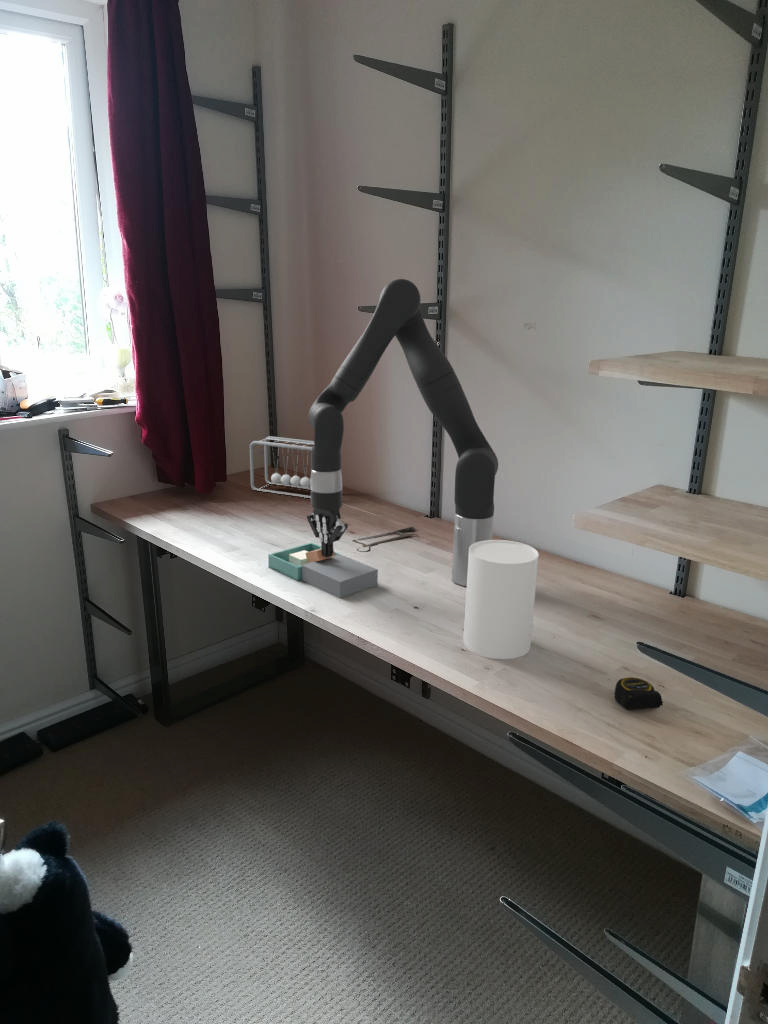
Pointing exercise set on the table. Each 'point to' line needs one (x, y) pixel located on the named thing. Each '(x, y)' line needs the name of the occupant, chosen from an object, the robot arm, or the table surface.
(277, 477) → the newton's cradle
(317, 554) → the terracotta tile
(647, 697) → the tape measure
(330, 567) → the grey flat block
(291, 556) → the cream tile
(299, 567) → the box
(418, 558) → the table surface
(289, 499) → the table surface
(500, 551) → the canister
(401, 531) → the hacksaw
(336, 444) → the robot arm
